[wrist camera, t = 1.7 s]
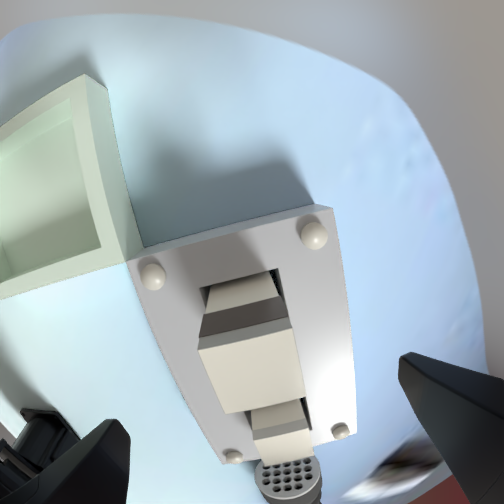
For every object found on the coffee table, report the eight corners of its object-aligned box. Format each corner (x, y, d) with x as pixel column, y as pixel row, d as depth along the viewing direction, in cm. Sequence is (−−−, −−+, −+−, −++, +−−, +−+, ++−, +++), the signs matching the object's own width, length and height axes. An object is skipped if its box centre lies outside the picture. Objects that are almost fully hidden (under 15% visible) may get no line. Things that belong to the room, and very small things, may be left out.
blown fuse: (227, 320, 17) (224, 415, 9) (212, 273, 16) (195, 349, 8) (277, 308, 17) (307, 396, 9) (265, 259, 16) (293, 326, 8)
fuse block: (222, 436, 19) (222, 468, 16) (143, 247, 16) (122, 263, 12) (344, 407, 19) (358, 436, 16) (315, 203, 16) (335, 208, 12)
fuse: (257, 409, 19) (265, 466, 14) (247, 380, 18) (253, 440, 13) (297, 399, 19) (314, 455, 14) (291, 370, 18) (308, 427, 13)
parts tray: (14, 288, 16) (-10, 303, 13) (-15, 163, 13) (-42, 164, 10) (143, 247, 16) (125, 262, 13) (107, 89, 13) (84, 73, 10)
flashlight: (322, 500, 24) (331, 532, 19) (280, 510, 24) (285, 542, 19) (312, 441, 21) (326, 487, 15) (252, 454, 20) (256, 502, 15)
